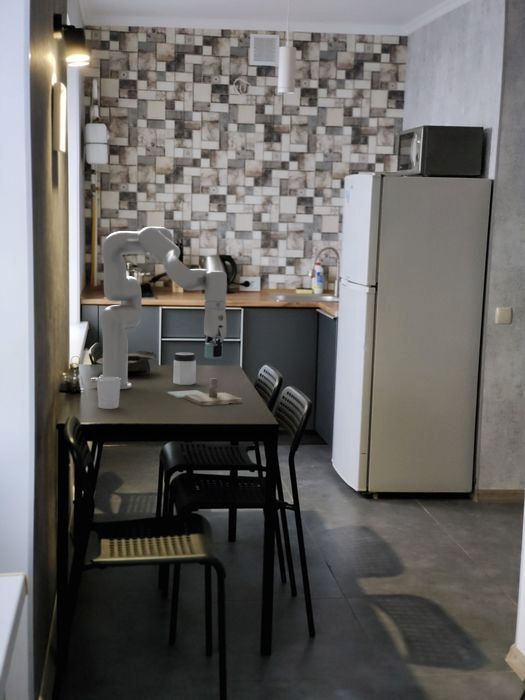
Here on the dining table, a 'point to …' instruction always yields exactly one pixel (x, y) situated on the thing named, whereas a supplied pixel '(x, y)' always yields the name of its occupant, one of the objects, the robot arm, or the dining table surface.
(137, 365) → the stone bowl
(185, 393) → the mat
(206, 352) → the cap
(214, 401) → the post base
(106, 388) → the white cup
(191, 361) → the jar
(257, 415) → the dining table surface
